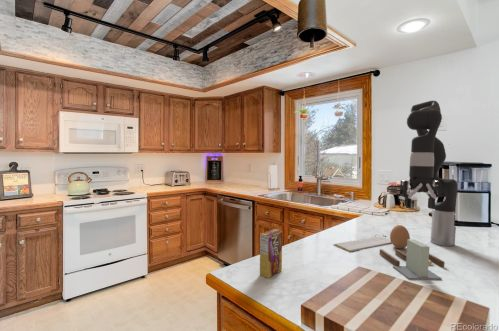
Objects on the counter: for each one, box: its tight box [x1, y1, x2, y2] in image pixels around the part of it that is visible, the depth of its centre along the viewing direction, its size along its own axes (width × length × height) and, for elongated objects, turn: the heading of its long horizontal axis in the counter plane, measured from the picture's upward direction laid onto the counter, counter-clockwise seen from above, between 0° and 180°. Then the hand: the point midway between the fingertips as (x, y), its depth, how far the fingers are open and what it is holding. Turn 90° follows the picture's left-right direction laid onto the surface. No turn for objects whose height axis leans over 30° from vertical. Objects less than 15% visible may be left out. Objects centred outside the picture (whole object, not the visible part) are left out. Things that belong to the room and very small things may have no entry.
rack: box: [379, 248, 445, 268], centre depth 112 cm, size 19×13×2 cm
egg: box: [389, 224, 411, 250], centre depth 126 cm, size 8×8×11 cm
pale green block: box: [405, 238, 430, 277], centre depth 99 cm, size 3×8×11 cm, turn 2°
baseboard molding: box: [333, 235, 393, 253], centre depth 133 cm, size 31×3×12 cm
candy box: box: [259, 228, 283, 279], centre depth 97 cm, size 9×4×15 cm, turn 140°
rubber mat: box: [392, 265, 443, 281], centre depth 99 cm, size 12×10×1 cm
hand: (419, 208), depth 98 cm, fingers open, 8 cm apart
